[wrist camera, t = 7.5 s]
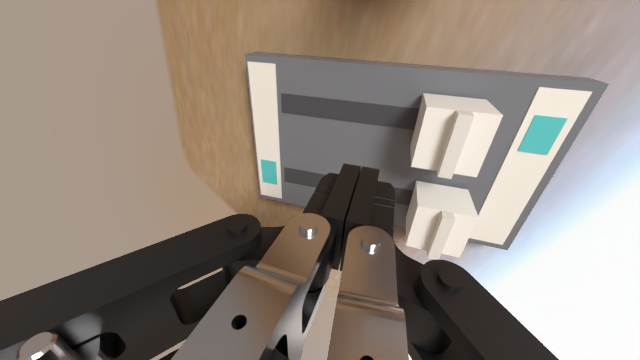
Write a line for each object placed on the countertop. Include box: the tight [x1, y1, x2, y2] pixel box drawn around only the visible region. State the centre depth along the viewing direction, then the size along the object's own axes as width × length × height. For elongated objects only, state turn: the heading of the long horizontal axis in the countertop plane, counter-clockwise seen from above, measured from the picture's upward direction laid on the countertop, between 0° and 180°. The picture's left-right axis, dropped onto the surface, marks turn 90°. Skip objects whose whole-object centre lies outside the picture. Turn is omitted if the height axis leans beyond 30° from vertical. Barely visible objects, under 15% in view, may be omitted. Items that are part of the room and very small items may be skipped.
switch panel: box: [245, 52, 609, 250], centre depth 22 cm, size 14×24×2 cm, turn 88°
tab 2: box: [406, 181, 479, 260], centre depth 20 cm, size 4×4×4 cm
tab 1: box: [410, 93, 503, 179], centre depth 17 cm, size 4×4×4 cm
